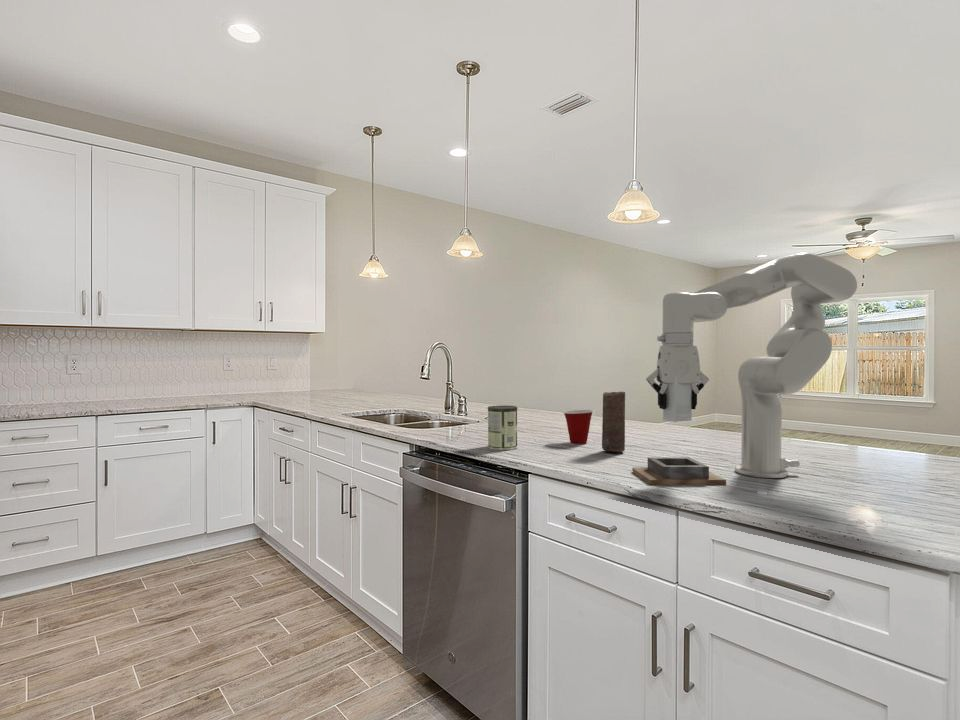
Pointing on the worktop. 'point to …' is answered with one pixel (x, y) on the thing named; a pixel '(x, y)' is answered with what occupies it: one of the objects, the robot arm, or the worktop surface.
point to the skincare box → (678, 402)
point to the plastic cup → (578, 425)
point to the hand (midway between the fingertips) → (677, 408)
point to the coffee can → (502, 427)
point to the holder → (677, 472)
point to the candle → (613, 422)
